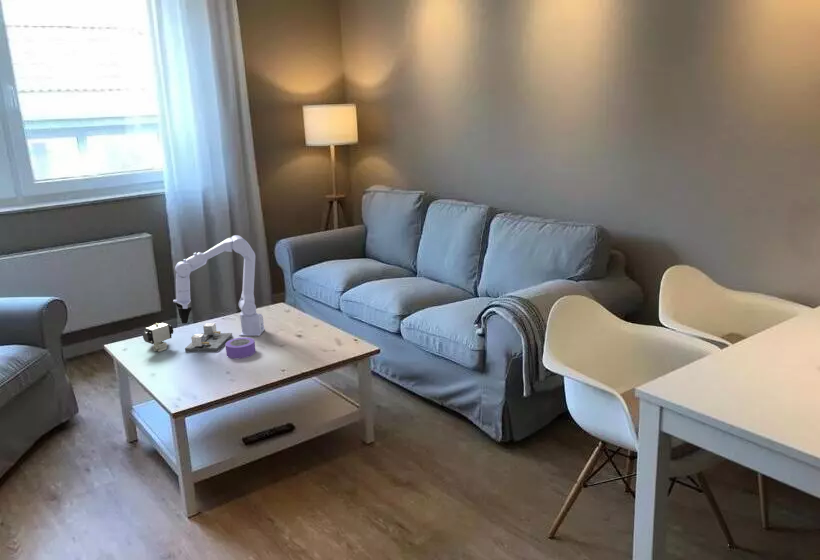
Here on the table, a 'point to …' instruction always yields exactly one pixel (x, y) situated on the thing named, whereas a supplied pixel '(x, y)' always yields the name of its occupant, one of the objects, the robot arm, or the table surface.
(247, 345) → the tape roll
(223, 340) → the bolt plate
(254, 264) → the robot arm
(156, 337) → the pneumatic valve
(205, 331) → the sliding block
